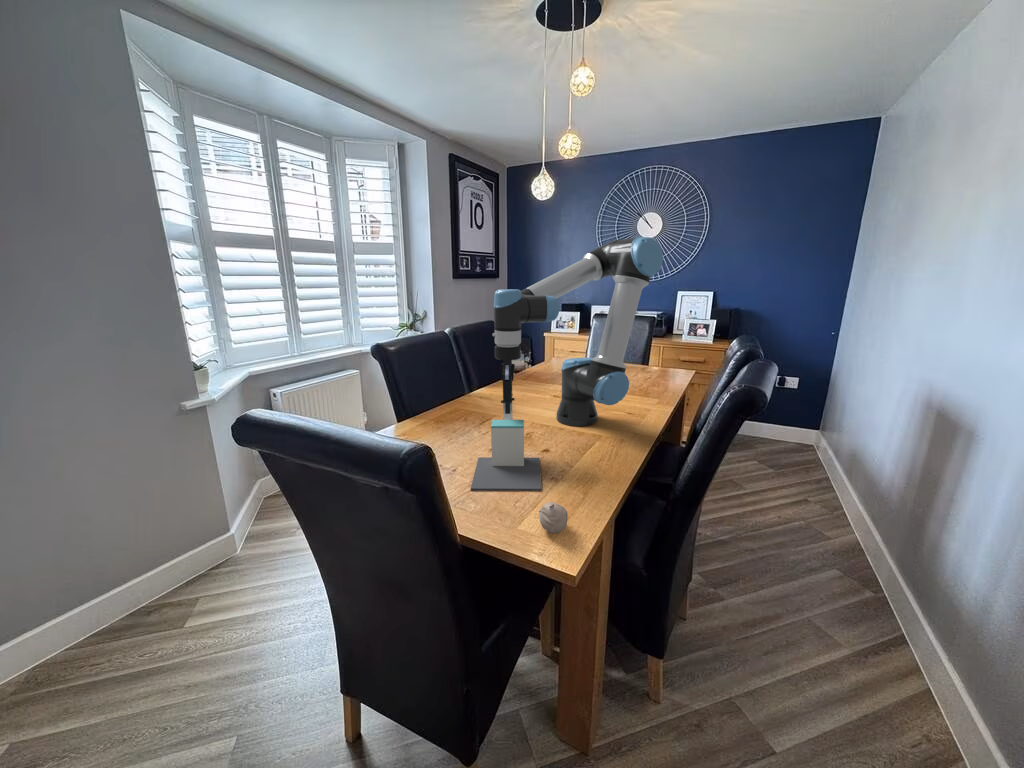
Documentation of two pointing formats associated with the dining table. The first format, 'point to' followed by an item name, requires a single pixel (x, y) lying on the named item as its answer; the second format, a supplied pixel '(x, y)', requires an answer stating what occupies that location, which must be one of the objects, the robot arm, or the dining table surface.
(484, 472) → the rubber mat
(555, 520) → the garlic bulb
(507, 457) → the grey teal block
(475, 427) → the dining table surface
